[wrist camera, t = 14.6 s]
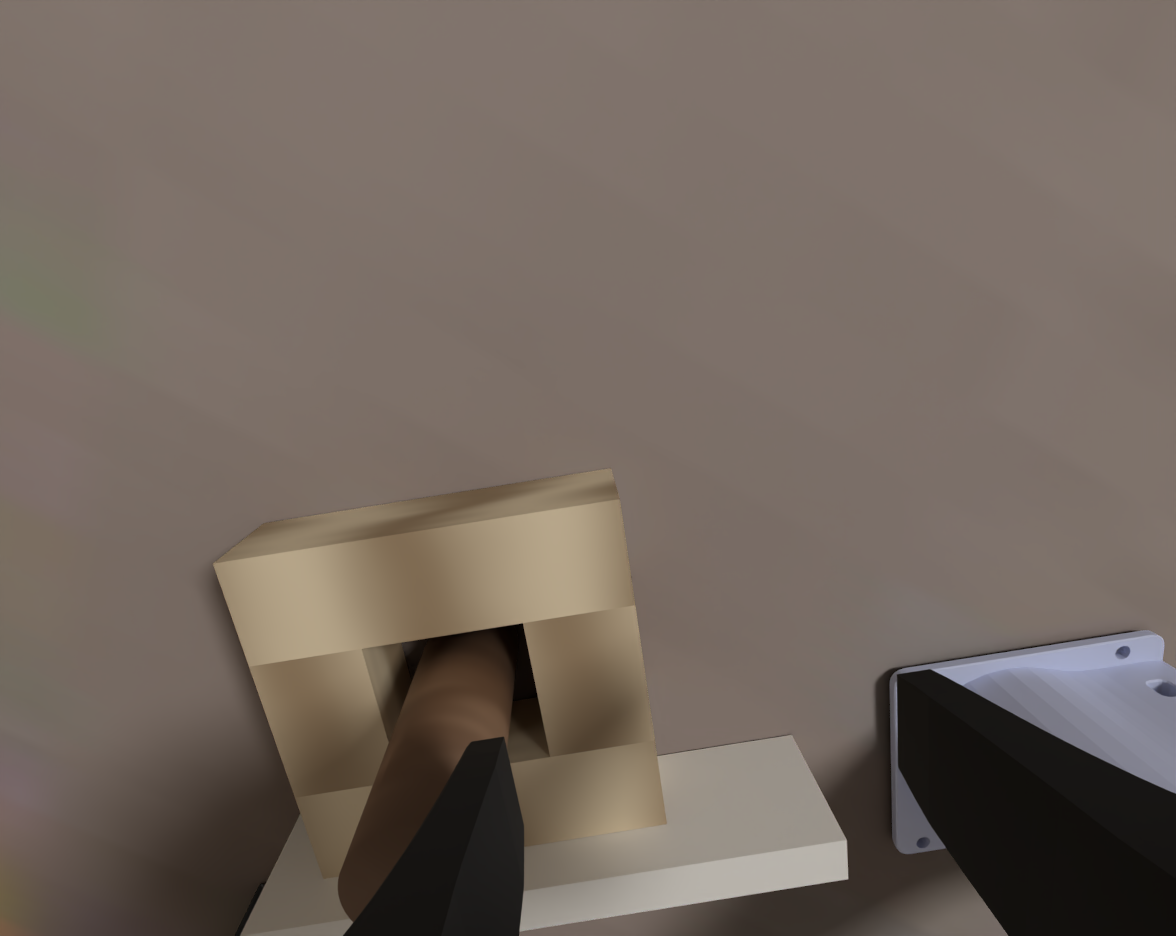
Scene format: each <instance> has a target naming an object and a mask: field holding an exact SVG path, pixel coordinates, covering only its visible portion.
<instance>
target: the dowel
mask: <svg viewBox="0 0 1176 936" xmlns="http://www.w3.org/2000/svg"><path fill="white" fill-rule="evenodd" d="M518 648H519V638H518V634H517V631H516V628H515V626H514V625H508V626H502V627H496V628H489V629H483V630H477V631H471V632H464V633H458V634H452V635H445V636H439V637H433V638H428V640H427V643H426V646H425V648H424V651H423V654H422V656H421V659H420V662H419V664H418V667H417V669H416V672H415V675H414V677H413V680H412V683H411V685H410V688H409V691H408V693H407V696H406V699H405V701H404V704H403V707H402V709H401V712H400V715H399V717H398V720H397V723H396V725H395V728H394V730H393V733H392V736H391V738H390V741H389V744H388V746H387V749H386V752H385V754H384V757H383V760H382V762H381V765H380V768H379V770H378V773H377V776H376V778H375V781H374V783H373V786H372V789H371V791H370V794H369V797H368V799H367V802H366V805H365V807H364V810H363V813H362V815H361V818H360V821H359V823H358V826H357V829H356V831H355V834H354V837H353V839H352V842H351V844H350V847H349V850H348V852H347V855H346V858H345V860H344V863H343V866H342V868H341V871H340V874H339V878H338V895H339V899H340V902H341V905H342V907H343V909H344V911H345V913H346V914H347V916H348V917H349V918H350V919H351V921H352V922H354V921H355V920H356V918H357V917H358V916H359V914H360V913H361V912H362V910H363V909H364V908H365V906H366V905H367V904H368V902H369V901H370V900H371V898H372V897H373V896H374V894H375V893H376V891H377V890H378V889H379V887H380V886H381V884H382V883H383V881H384V880H385V879H386V877H387V876H388V874H389V873H390V871H391V870H392V868H393V867H394V865H395V864H396V863H397V861H398V860H399V858H400V857H401V855H402V854H403V852H404V851H405V850H406V848H407V846H408V845H409V843H410V842H411V840H412V839H413V837H414V836H415V834H416V832H417V831H418V829H419V828H420V826H421V824H422V823H423V821H424V820H425V818H426V816H427V815H428V813H429V811H430V810H431V808H432V807H433V805H434V803H435V802H436V800H437V798H438V797H439V795H440V793H441V791H442V790H443V788H444V786H445V785H446V783H447V781H448V779H449V778H450V776H451V774H452V772H453V771H454V769H455V767H456V765H457V763H458V762H459V760H460V758H461V756H462V754H463V753H464V751H465V749H466V747H467V746H468V745H469V744H470V742H472V741H479V740H485V739H491V738H497V737H504V738H505V743H506V747H507V745H508V736H509V727H510V719H511V710H512V701H513V692H514V684H515V675H516V666H517V657H518Z"/></svg>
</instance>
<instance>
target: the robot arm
mask: <svg viewBox="0 0 1176 936" xmlns="http://www.w3.org/2000/svg"><path fill="white" fill-rule="evenodd" d="M1163 652H1164V640H1163V639H1162V637H1161V636H1159V635H1157V634H1155V633H1154V632H1152V631H1149V630H1142V631H1136V632H1129V633H1123V634H1117V635H1111V636H1104V637H1098V638H1092V639H1085V640H1079V641H1073V642H1066V643H1060V644H1054V645H1047V646H1041V647H1035V648H1028V649H1022V650H1016V651H1009V652H1003V653H997V654H990V655H984V656H978V657H972V658H965V659H959V660H953V661H946V662H940V663H934V664H927V665H921V666H915V667H908V668H903V669H900V670H898V671H896V672H895V673H894V674H893V675H892V677H891V679H890V733H891V792H892V840H893V843H894V845H895V846H896V848H897V850H898V851H899V852H901V853H903V854H914V853H920V852H926V851H933V850H939V849H945V848H947V850H948V851H949V853H950V854H951V856H952V857H953V858H954V860H955V861H956V863H957V864H958V866H959V867H960V868H961V870H962V871H963V873H964V874H965V875H966V877H967V878H968V880H969V881H970V882H971V884H972V885H973V887H974V888H975V889H976V891H977V892H978V894H979V895H980V896H981V898H982V899H983V901H984V902H985V903H986V905H987V906H988V908H989V909H990V910H991V912H992V913H993V915H994V916H995V917H996V919H997V920H998V922H999V923H1000V924H1001V926H1002V927H1003V929H1004V930H1005V931H1006V933H1007V934H1008V936H1176V669H1175V668H1174V667H1172V666H1171V665H1169V664H1167V663H1166V662H1164V661H1162V660H1163ZM523 892H524V823H523V818H522V814H521V809H520V805H519V801H518V796H517V792H516V787H515V783H514V778H513V774H512V769H511V765H510V760H509V756H508V752H507V747H506V743H505V738H504V737H497V738H491V739H485V740H479V741H472V742H470V744H469V745H468V746H467V747H466V749H465V751H464V753H463V754H462V756H461V758H460V760H459V762H458V763H457V765H456V767H455V769H454V771H453V772H452V774H451V776H450V778H449V779H448V781H447V783H446V785H445V786H444V788H443V790H442V791H441V793H440V795H439V797H438V798H437V800H436V802H435V803H434V805H433V807H432V808H431V810H430V811H429V813H428V815H427V816H426V818H425V820H424V821H423V823H422V824H421V826H420V828H419V829H418V831H417V832H416V834H415V836H414V837H413V839H412V840H411V842H410V843H409V845H408V846H407V848H406V850H405V851H404V852H403V854H402V855H401V857H400V858H399V860H398V861H397V863H396V864H395V865H394V867H393V868H392V870H391V871H390V873H389V874H388V876H387V877H386V879H385V880H384V881H383V883H382V884H381V886H380V887H379V889H378V890H377V891H376V893H375V894H374V896H373V897H372V898H371V900H370V901H369V902H368V904H367V905H366V906H365V908H364V909H363V910H362V912H361V913H360V914H359V916H358V917H357V918H356V920H355V921H354V922H353V923H352V925H351V926H350V927H349V928H348V930H347V931H346V932H345V933H344V935H343V936H519V930H520V921H521V911H522V902H523Z"/></svg>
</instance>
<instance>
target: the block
mask: <svg viewBox="0 0 1176 936" xmlns="http://www.w3.org/2000/svg"><path fill="white" fill-rule="evenodd" d="M213 565H214V568H215V571H216V574H217V577H218V580H219V583H220V585H221V588H222V591H223V594H224V597H225V600H226V603H227V605H228V608H229V611H230V614H231V617H232V620H233V622H234V625H235V628H236V631H237V634H238V637H239V640H240V642H241V645H242V648H243V651H244V654H245V657H246V660H247V662H248V665H249V668H250V671H251V674H252V677H253V680H254V682H255V685H256V688H257V691H258V694H259V697H260V700H261V702H262V705H263V708H264V711H265V714H266V717H267V719H268V722H269V725H270V728H271V731H272V734H273V737H274V739H275V742H276V745H277V748H278V751H279V754H280V757H281V759H282V762H283V765H284V768H285V771H286V774H287V777H288V779H289V782H290V785H291V788H292V791H293V794H294V796H295V799H296V802H297V805H298V808H299V811H300V814H301V816H302V819H303V822H304V825H305V828H306V831H307V834H308V836H309V839H310V842H311V845H312V848H313V851H314V854H315V856H316V859H317V862H318V865H319V868H320V871H321V874H322V876H323V879H326V878H333V877H339V874H340V871H341V868H342V866H343V863H344V860H345V858H346V855H347V852H348V850H349V847H350V844H351V842H352V839H353V837H354V834H355V831H356V829H357V826H358V823H359V821H360V818H361V815H362V813H363V810H364V807H365V805H366V802H367V799H368V797H369V794H370V791H371V789H372V786H373V783H374V781H375V778H376V776H377V773H378V770H379V768H380V765H381V762H382V760H383V757H384V754H385V752H386V749H387V746H388V744H389V741H390V738H391V736H392V733H393V730H394V728H395V725H396V723H397V720H398V717H399V715H400V712H401V709H402V707H403V704H404V701H405V699H406V696H407V693H408V691H409V688H410V685H411V683H412V681H411V677H410V673H409V670H408V666H407V662H406V659H405V655H404V651H403V647H402V644H401V642H408V641H414V640H420V639H427V638H433V637H439V636H445V635H452V634H458V633H464V632H471V631H477V630H483V629H489V628H496V627H502V626H508V625H515V624H521V623H523V626H524V631H525V636H526V641H527V646H528V651H529V656H530V660H531V665H532V670H533V675H534V680H535V685H536V690H537V695H538V697H536V698H530V699H524V700H517V701H512V710H511V719H510V727H509V736H508V745H507V752H508V756H509V760H510V765H511V769H512V774H513V778H514V783H515V787H516V792H517V796H518V801H519V805H520V809H521V814H522V818H523V823H524V847H527V846H533V845H539V844H546V843H552V842H558V841H564V840H571V839H577V838H583V837H589V836H596V835H602V834H608V833H615V832H621V831H627V830H633V829H640V828H646V827H652V826H658V825H665V824H667V821H666V814H665V807H664V800H663V793H662V786H661V779H660V772H659V766H658V759H657V752H656V745H655V738H654V731H653V724H652V718H651V711H650V704H649V697H648V690H647V683H646V676H645V669H644V663H643V656H642V649H641V642H640V635H639V628H638V621H637V614H636V608H635V601H634V594H633V587H632V580H631V573H630V566H629V559H628V553H627V546H626V539H625V532H624V525H623V518H622V511H621V505H620V498H619V495H618V491H617V488H616V485H615V481H614V478H613V474H612V471H611V468H609V469H603V470H596V471H590V472H584V473H578V474H571V475H565V476H559V477H552V478H546V479H540V480H533V481H527V482H521V483H515V484H508V485H502V486H496V487H489V488H483V489H477V490H470V491H464V492H458V493H452V494H445V495H439V496H433V497H426V498H420V499H414V500H408V501H401V502H395V503H389V504H382V505H376V506H370V507H363V508H357V509H351V510H345V511H338V512H332V513H326V514H319V515H313V516H307V517H300V518H294V519H288V520H282V521H275V522H269V523H264V524H262V525H261V526H260V527H259V528H257V529H256V530H255V531H254V532H252V533H251V534H250V535H249V536H247V537H246V538H245V539H243V540H242V541H241V542H240V543H238V544H237V545H236V546H235V547H233V548H232V549H231V550H230V551H228V552H227V553H226V554H224V555H223V556H222V557H221V558H219V559H218V560H217V561H216V562H214V563H213Z"/></svg>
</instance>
